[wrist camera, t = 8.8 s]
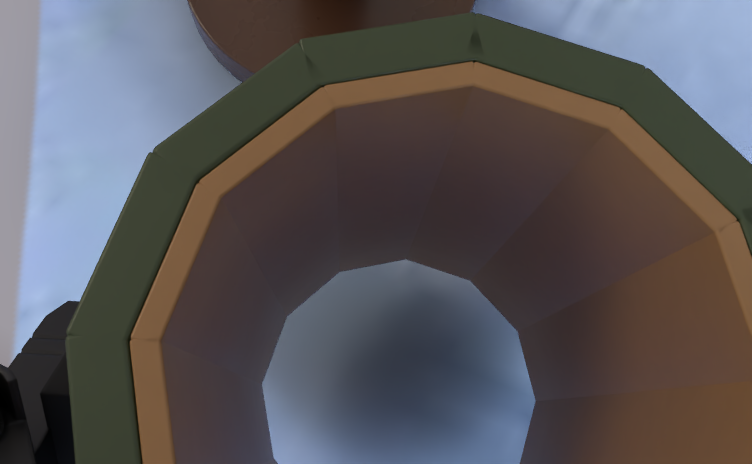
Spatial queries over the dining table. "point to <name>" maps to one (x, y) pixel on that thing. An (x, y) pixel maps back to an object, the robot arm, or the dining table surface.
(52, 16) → the dining table surface
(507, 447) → the dining table surface
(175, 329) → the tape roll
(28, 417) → the robot arm
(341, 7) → the peg stand
